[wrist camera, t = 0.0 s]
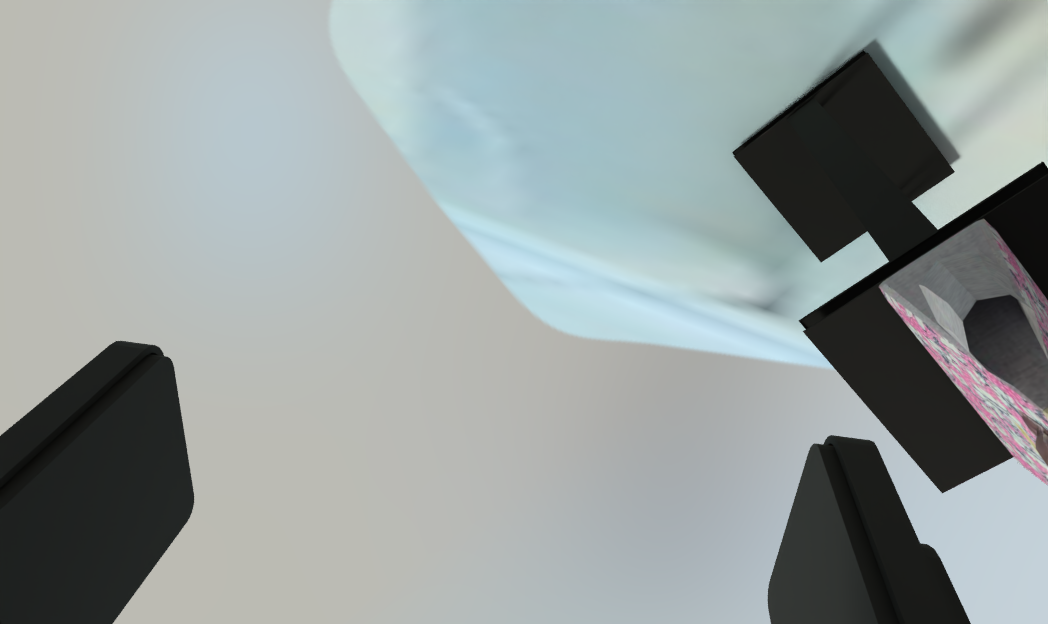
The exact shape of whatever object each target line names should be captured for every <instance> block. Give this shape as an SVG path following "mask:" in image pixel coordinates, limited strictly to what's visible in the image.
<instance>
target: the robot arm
mask: <svg viewBox="0 0 1048 624" xmlns="http://www.w3.org/2000/svg"><path fill="white" fill-rule="evenodd" d="M193 505H194V492H193V486H192V480H191V473H190V467H189V460H188V454H187V448H186V441H185V435H184V429H183V422H182V416H181V410H180V404H179V397H178V391H177V384H176V378H175V371H174V366H173V363H172V361H171V359H170V358H168V357H165V356H164V355H163V352H162V350H161V349H160V348H159V347H157V346H155V345H148V344H140V343H133V342H126V341H116V342H114V343H112V344H111V345H109V346H108V347H107V348H106V349H105V350H103V351H102V352H101V353H100V354H99V355H98V356H96V357H95V358H94V359H93V360H92V361H90V362H89V363H88V364H87V365H85V366H84V367H83V368H82V369H81V370H80V371H78V372H77V373H76V374H75V375H74V376H72V377H71V378H70V379H68V380H67V381H66V382H65V383H64V384H63V385H61V386H60V387H59V388H58V389H56V390H55V391H54V392H53V393H52V394H50V395H49V396H48V397H47V398H45V399H44V400H43V401H42V402H41V403H39V404H38V405H37V406H36V407H35V408H33V409H32V410H31V411H30V412H29V413H27V414H26V415H25V416H24V417H23V418H21V419H20V420H19V421H18V422H16V424H14V425H13V426H12V427H10V428H9V429H8V430H7V431H6V432H4V433H3V434H2V435H1V436H0V624H112V623H113V622H114V621H115V619H116V618H117V617H118V615H119V614H120V613H121V611H122V610H123V609H124V607H125V606H126V604H127V603H128V602H129V600H130V599H131V598H132V596H133V595H134V593H135V592H136V591H137V589H138V588H139V587H140V585H141V584H142V582H143V581H144V580H145V578H146V577H147V576H148V574H149V573H150V572H151V570H152V569H153V567H154V566H155V565H156V563H157V562H158V561H159V559H160V558H161V557H162V555H163V554H164V553H165V551H166V550H167V548H168V547H169V546H170V544H171V543H172V542H173V540H174V539H175V537H176V536H177V535H178V534H179V532H180V531H181V529H182V528H183V526H184V525H185V524H186V523H187V521H188V519H189V518H190V515H191V513H192V509H193ZM768 609H769V615H770V619H771V624H971V623H970V621H969V619H968V617H967V615H966V613H965V610H964V608H963V606H962V604H961V602H960V600H959V598H958V595H957V593H956V591H955V589H954V587H953V585H952V583H951V581H950V578H949V576H948V574H947V572H946V570H945V568H944V565H943V564H942V561H941V559H940V557H939V556H938V554H937V553H936V551H935V550H934V549H933V548H932V547H930V546H929V545H927V544H920V542H919V540H918V538H917V535H916V533H915V531H914V529H913V526H912V524H911V522H910V520H909V518H908V515H907V513H906V511H905V509H904V506H903V504H902V502H901V500H900V497H899V495H898V493H897V491H896V489H895V486H894V484H893V482H892V480H891V477H890V475H889V473H888V471H887V468H886V466H885V464H884V462H883V459H882V458H881V455H880V453H879V451H878V448H877V446H876V445H875V443H874V442H872V441H870V440H863V439H855V438H848V437H840V436H832V435H831V436H829V437H827V439H826V440H825V442H824V445H821V444H813V445H812V446H811V448H810V450H809V453H808V456H807V460H806V463H805V466H804V470H803V473H802V476H801V480H800V483H799V486H798V489H797V493H796V496H795V499H794V503H793V506H792V509H791V512H790V516H789V519H788V523H787V526H786V529H785V533H784V536H783V539H782V542H781V546H780V549H779V552H778V556H777V559H776V562H775V566H774V569H773V572H772V575H771V579H770V583H769V588H768Z"/></svg>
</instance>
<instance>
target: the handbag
mask: <svg viewBox="0 0 1048 624" xmlns="http://www.w3.org/2000/svg"><path fill="white" fill-rule="evenodd" d="M733 154H734V155H735V156H734V157H735V159H736V160H737V161H738V162H739V163H740V165H741V166H742V167H743V168H744V169H745V171H746V172H747V173H748V174H749V176H750V177H751V178H752V179H753V180H754V182H755V183H756V184H757V185H758V186H759V188H760V189H761V190H762V191H763V193H764V194H765V195H766V196H767V197H768V199H769V200H770V201H771V202H772V203H773V205H774V206H775V207H776V208H777V210H778V211H779V212H780V213H781V214H782V216H783V217H784V218H785V219H786V220H787V222H788V223H789V224H790V225H791V226H792V228H793V229H794V230H795V231H796V233H797V234H798V235H799V236H800V237H801V239H802V240H803V241H804V242H805V243H806V245H807V246H808V247H809V248H810V250H811V251H812V252H813V253H814V254H815V256H816V257H817V258H818V259H819V260H820V262H823V261H824V260H826V259H827V258H828V257H830V256H831V255H833V254H834V253H836V252H837V251H839V250H840V249H842V248H843V247H845V246H846V245H848V244H849V243H851V242H852V241H854V240H855V239H857V238H858V237H859V236H861V235H862V234H864V233H865V232H867V231H868V232H869V234H870V235H871V237H872V238H873V239H874V241H875V242H876V244H877V245H878V246H879V248H880V249H881V251H882V252H883V253H884V255H885V256H886V257H887V259H888V260H889V262H888V263H886V264H885V265H883V266H882V267H880V268H879V269H877V270H876V271H874V272H873V273H871V274H870V275H868V276H866V277H865V278H863V279H862V280H860V281H859V282H857V283H856V284H854V285H853V286H851V287H850V288H848V289H847V290H845V291H843V292H842V293H840V294H839V295H837V296H836V297H834V298H833V299H831V300H830V301H828V302H827V303H825V304H824V305H822V306H820V307H819V308H817V309H816V310H814V311H813V312H811V313H810V314H808V315H807V316H805V317H804V318H802V319H801V320H799V322H800V323H801V324H802V325H803V326H804V328H805V329H806V330H804V331H803V332H804V333H805V335H806V336H807V337H808V338H809V339H810V340H811V341H812V343H813V344H814V345H815V346H816V347H817V348H818V350H819V351H820V352H821V353H822V354H823V355H824V357H825V358H826V359H827V360H828V361H829V362H830V364H831V365H832V366H833V367H834V368H835V369H836V371H837V372H838V373H839V374H840V375H841V376H842V377H843V379H844V380H845V381H846V382H847V383H848V384H849V386H850V387H851V388H852V389H853V390H854V391H855V393H857V395H858V396H859V397H860V398H861V399H862V401H863V402H864V403H865V404H866V405H867V407H868V408H869V409H870V410H871V411H872V412H873V413H874V415H875V416H876V417H877V418H878V419H879V420H880V422H881V423H882V424H883V425H884V426H885V427H886V429H887V430H888V431H889V432H890V433H891V434H892V435H893V437H894V438H895V439H896V440H897V441H898V443H899V444H900V445H901V446H902V447H903V448H904V449H905V451H906V452H907V453H908V454H909V455H910V456H911V458H912V459H913V460H914V461H915V462H916V463H917V465H918V466H919V467H920V468H921V469H922V470H923V472H924V473H925V474H926V475H927V476H928V477H929V479H930V480H931V481H932V482H933V483H934V484H935V486H937V488H938V489H939V490H940V491H941V492H942V493H944V492H946V491H948V490H950V489H952V488H954V487H956V486H957V485H959V484H961V483H963V482H965V481H967V480H969V479H971V478H973V477H975V476H977V475H979V474H981V473H983V472H985V471H987V470H989V469H991V468H993V467H995V466H997V465H999V464H1001V463H1003V462H1005V461H1007V460H1008V459H1011V458H1012V457H1014V458H1015V459H1016V460H1017V461H1018V463H1019V464H1021V465H1022V466H1023V467H1024V468H1026V469H1027V470H1028V471H1030V472H1031V473H1032V474H1034V475H1035V476H1036V477H1038V478H1039V479H1040V480H1041V481H1043V482H1044V483H1045V484H1047V485H1048V168H1047V166H1046V165H1045V163H1044V162H1041V163H1040V164H1038V165H1037V166H1035V167H1034V168H1032V169H1031V170H1029V171H1028V172H1026V173H1024V174H1023V175H1021V176H1020V177H1018V178H1017V179H1015V180H1014V181H1012V182H1011V183H1009V184H1008V185H1006V186H1005V187H1003V188H1001V189H1000V190H998V191H997V192H995V193H994V194H992V195H991V196H989V197H988V198H986V199H985V200H983V201H982V202H980V203H978V204H977V205H975V206H974V207H972V208H971V209H969V210H968V211H966V212H965V213H963V214H962V215H960V216H959V217H957V218H955V219H954V220H952V221H951V222H949V223H948V224H946V225H945V226H943V227H942V228H940V229H939V230H937V228H936V227H935V226H934V225H933V224H932V223H931V222H930V221H929V220H928V219H927V218H926V217H925V216H924V215H923V214H922V213H921V211H920V210H919V209H918V208H917V207H916V206H915V205H914V204H913V203H912V202H911V201H913V200H914V199H916V198H917V197H919V196H920V195H922V194H923V193H924V192H926V191H927V190H929V189H930V188H932V187H933V186H935V185H936V184H938V183H939V182H941V181H942V180H944V179H945V178H947V177H948V176H950V175H951V174H953V173H954V170H953V169H952V168H951V166H950V165H949V163H948V162H947V161H946V159H945V158H944V157H943V155H942V154H941V152H940V151H939V150H938V148H937V147H936V146H935V144H934V143H933V142H932V140H931V139H930V137H929V136H928V135H927V133H926V132H925V131H924V129H923V128H922V127H921V125H920V124H919V122H918V121H917V120H916V118H915V117H914V116H913V114H912V113H911V111H910V110H909V109H908V107H907V106H906V105H905V103H904V102H903V101H902V99H901V98H900V96H899V95H898V94H897V92H896V91H895V90H894V88H893V87H892V86H891V84H890V83H889V81H888V80H887V79H886V77H885V76H884V75H883V73H882V72H881V70H880V69H879V68H878V66H877V65H876V64H875V62H874V61H873V60H872V58H871V57H870V55H869V54H868V53H865V51H864V50H863V51H862V52H861V53H860V54H858V55H857V56H856V57H854V58H853V59H852V60H851V61H849V62H848V63H847V64H845V65H844V66H843V67H842V68H840V69H839V70H838V71H836V72H835V73H834V74H833V75H831V76H830V77H829V78H828V79H826V80H825V81H824V82H822V83H821V84H820V85H819V86H817V87H816V88H815V89H813V90H812V91H811V92H810V93H808V94H807V95H806V96H804V97H803V98H802V99H801V100H799V101H798V102H797V103H795V104H794V105H793V106H792V107H790V108H789V109H788V110H786V111H785V112H784V113H783V114H781V115H780V116H779V117H778V118H776V119H775V120H774V121H772V122H771V123H770V124H769V125H767V126H766V127H765V128H763V129H762V130H761V131H760V132H758V133H757V134H756V135H754V136H753V137H752V138H751V139H749V140H748V141H747V142H745V143H744V144H743V145H742V146H740V147H739V148H738V149H736V150H735V151H734V152H733Z"/></svg>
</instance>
